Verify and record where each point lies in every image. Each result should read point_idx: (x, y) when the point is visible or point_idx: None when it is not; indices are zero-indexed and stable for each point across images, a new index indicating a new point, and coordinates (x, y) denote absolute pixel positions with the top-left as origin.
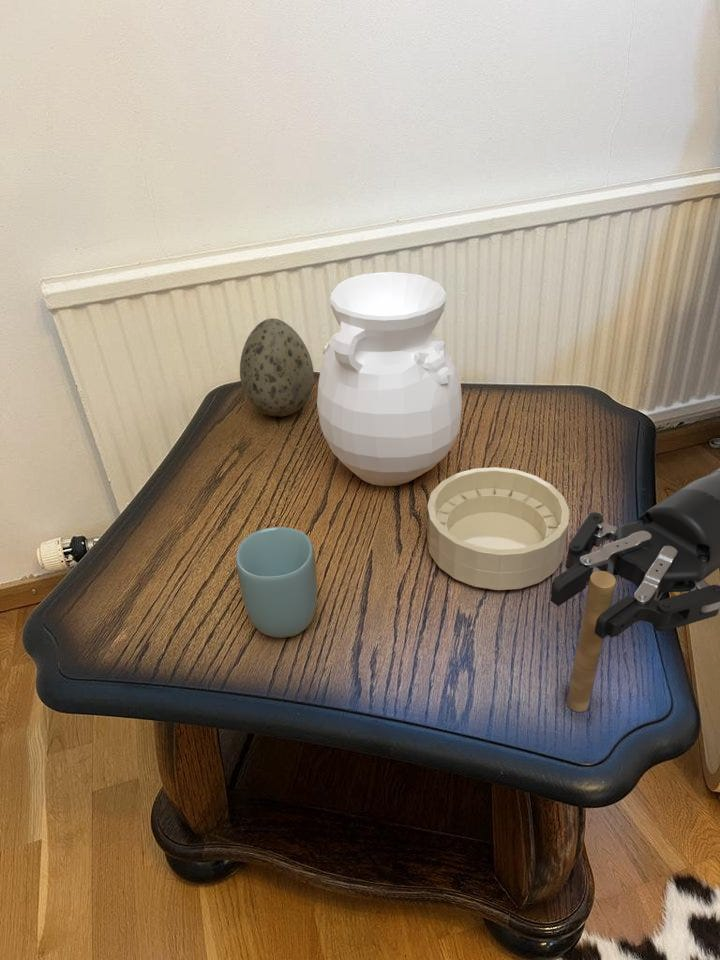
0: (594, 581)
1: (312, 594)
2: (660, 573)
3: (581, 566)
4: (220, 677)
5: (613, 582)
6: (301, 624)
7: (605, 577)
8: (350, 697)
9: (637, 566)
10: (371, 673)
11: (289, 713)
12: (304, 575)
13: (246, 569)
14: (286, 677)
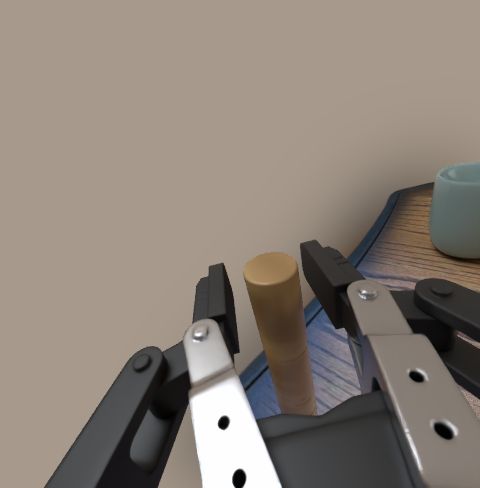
0: (271, 254)
1: (456, 221)
2: (205, 418)
3: (349, 279)
4: (395, 226)
5: (249, 275)
6: (436, 238)
7: (270, 270)
8: (366, 272)
9: (309, 417)
10: (391, 285)
11: (358, 247)
12: (453, 191)
13: (459, 174)
14: (392, 248)
